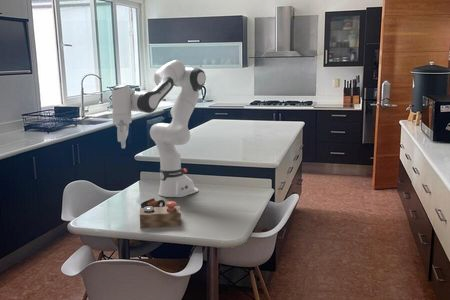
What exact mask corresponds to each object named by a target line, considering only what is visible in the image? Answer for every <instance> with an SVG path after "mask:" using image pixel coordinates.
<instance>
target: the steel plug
mask: <svg viewBox="0 0 450 300" xmlns="http://www.w3.org/2000/svg"><path fill="white" fill-rule="evenodd" d="M144 211H145V212H153V211H154V207H152V206H147V207H144Z"/></svg>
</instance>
